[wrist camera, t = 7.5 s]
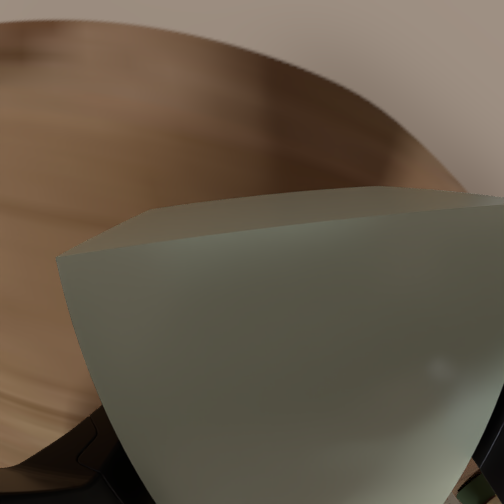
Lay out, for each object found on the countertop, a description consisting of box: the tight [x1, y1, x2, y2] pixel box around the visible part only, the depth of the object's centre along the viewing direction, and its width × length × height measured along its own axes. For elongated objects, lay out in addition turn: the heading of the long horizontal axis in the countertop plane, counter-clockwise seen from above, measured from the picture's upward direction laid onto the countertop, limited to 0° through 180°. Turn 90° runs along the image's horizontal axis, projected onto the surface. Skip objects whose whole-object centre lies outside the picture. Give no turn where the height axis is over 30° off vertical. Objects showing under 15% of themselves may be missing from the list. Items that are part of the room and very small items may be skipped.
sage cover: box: [56, 186, 504, 504], centre depth 7 cm, size 9×7×6 cm
